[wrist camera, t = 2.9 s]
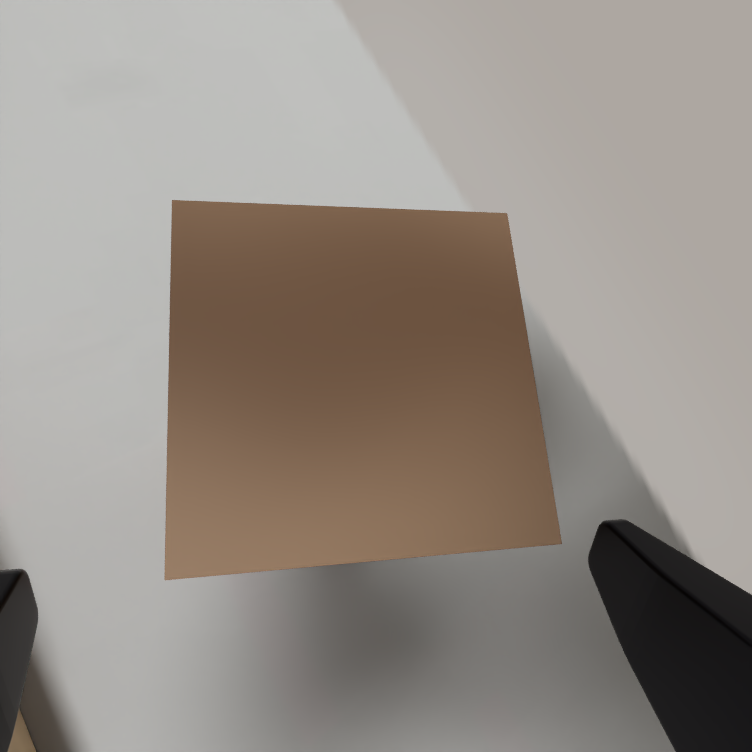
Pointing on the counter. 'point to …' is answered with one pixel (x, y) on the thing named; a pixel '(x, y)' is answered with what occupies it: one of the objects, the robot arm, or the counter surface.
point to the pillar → (347, 389)
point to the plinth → (21, 737)
